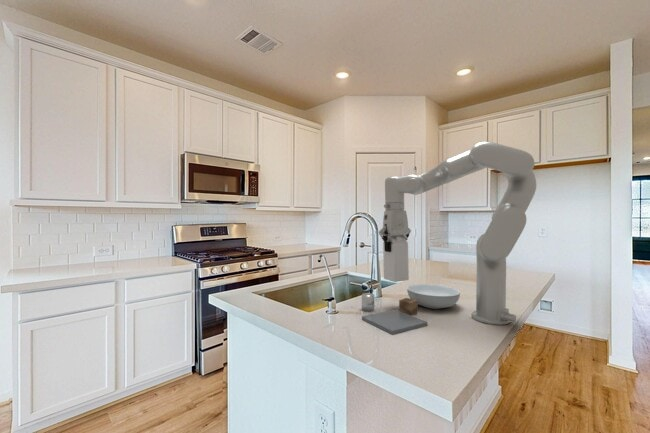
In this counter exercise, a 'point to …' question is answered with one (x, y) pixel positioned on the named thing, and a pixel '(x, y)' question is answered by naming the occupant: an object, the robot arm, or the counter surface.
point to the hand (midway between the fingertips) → (395, 250)
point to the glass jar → (368, 302)
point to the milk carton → (396, 260)
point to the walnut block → (408, 306)
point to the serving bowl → (433, 295)
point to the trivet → (394, 321)
